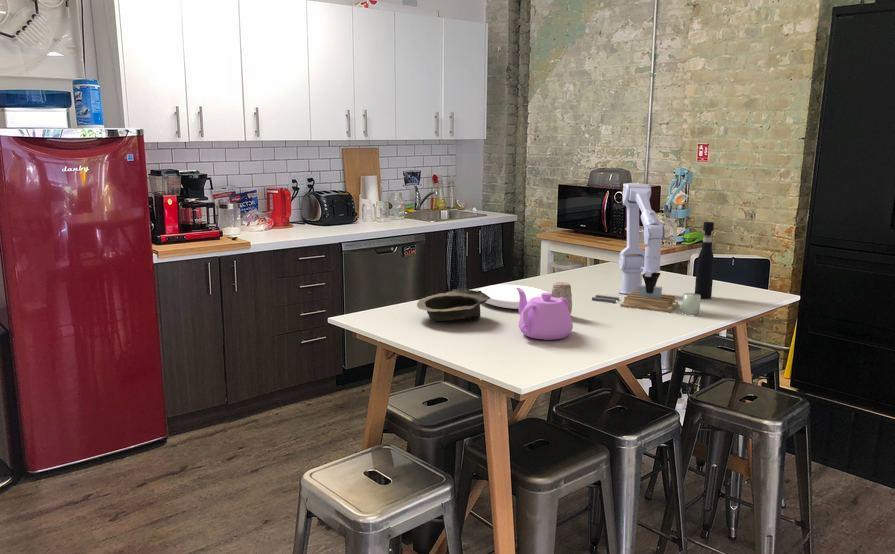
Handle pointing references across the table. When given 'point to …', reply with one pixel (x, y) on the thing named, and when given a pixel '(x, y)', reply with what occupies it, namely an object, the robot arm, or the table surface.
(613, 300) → the drying stand
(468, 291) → the stone bowl
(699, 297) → the pale green cylinder
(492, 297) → the plate
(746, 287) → the table surface
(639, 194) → the robot arm
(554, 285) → the carving
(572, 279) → the table surface
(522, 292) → the teapot
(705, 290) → the black thermos bottle
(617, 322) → the table surface
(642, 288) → the light blue slab
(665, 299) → the dish rack
